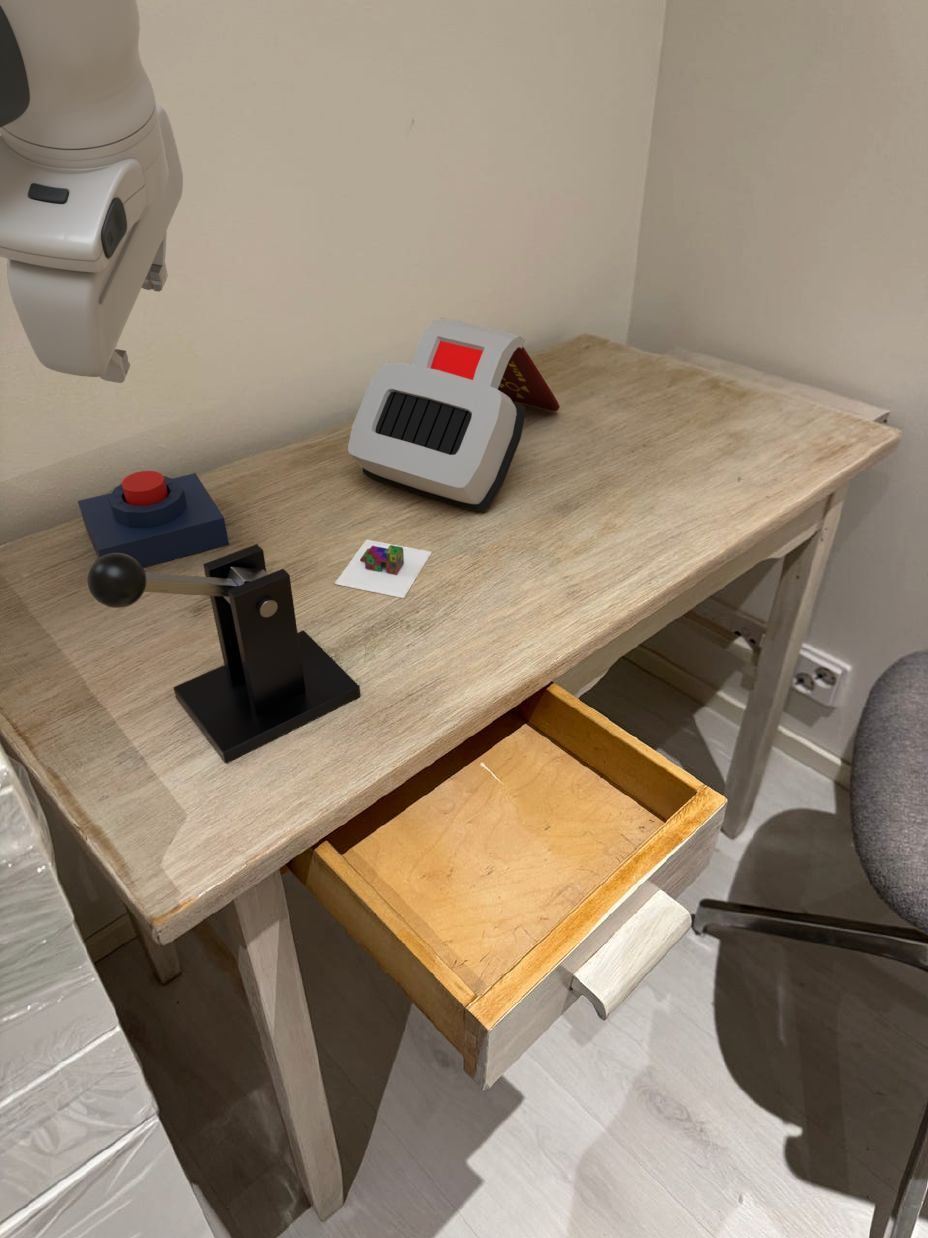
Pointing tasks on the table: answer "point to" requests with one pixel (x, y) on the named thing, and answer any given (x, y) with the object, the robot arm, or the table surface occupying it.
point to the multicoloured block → (383, 568)
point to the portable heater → (449, 414)
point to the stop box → (156, 523)
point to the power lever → (155, 581)
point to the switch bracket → (261, 665)
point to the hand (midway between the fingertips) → (135, 327)
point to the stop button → (144, 488)
